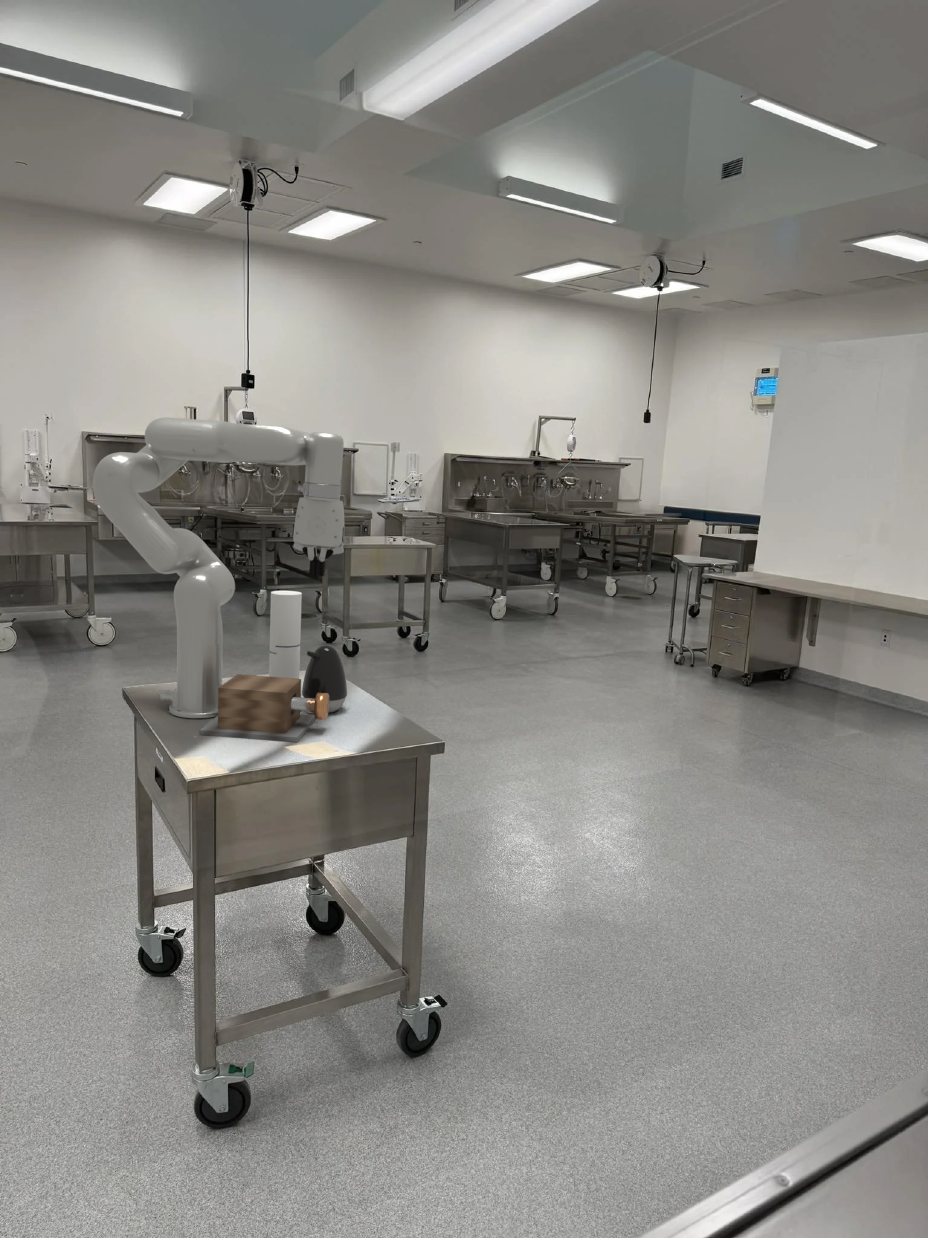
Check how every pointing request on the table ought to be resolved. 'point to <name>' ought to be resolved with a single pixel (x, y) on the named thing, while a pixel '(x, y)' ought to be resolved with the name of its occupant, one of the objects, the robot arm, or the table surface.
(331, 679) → the black rounded figure
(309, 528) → the robot arm
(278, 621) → the cylindrical container
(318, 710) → the shaft
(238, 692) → the block
